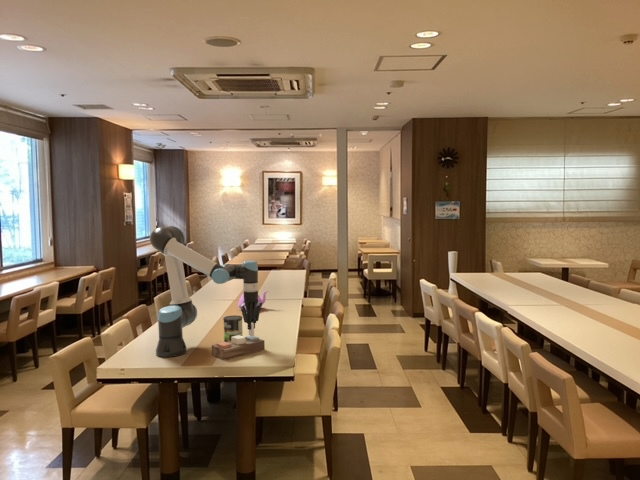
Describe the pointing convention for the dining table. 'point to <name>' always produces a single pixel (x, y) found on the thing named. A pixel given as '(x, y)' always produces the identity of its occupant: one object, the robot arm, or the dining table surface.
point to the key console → (238, 349)
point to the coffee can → (232, 327)
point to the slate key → (251, 338)
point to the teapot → (258, 299)
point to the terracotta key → (223, 345)
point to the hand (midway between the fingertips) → (251, 335)
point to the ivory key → (238, 339)
